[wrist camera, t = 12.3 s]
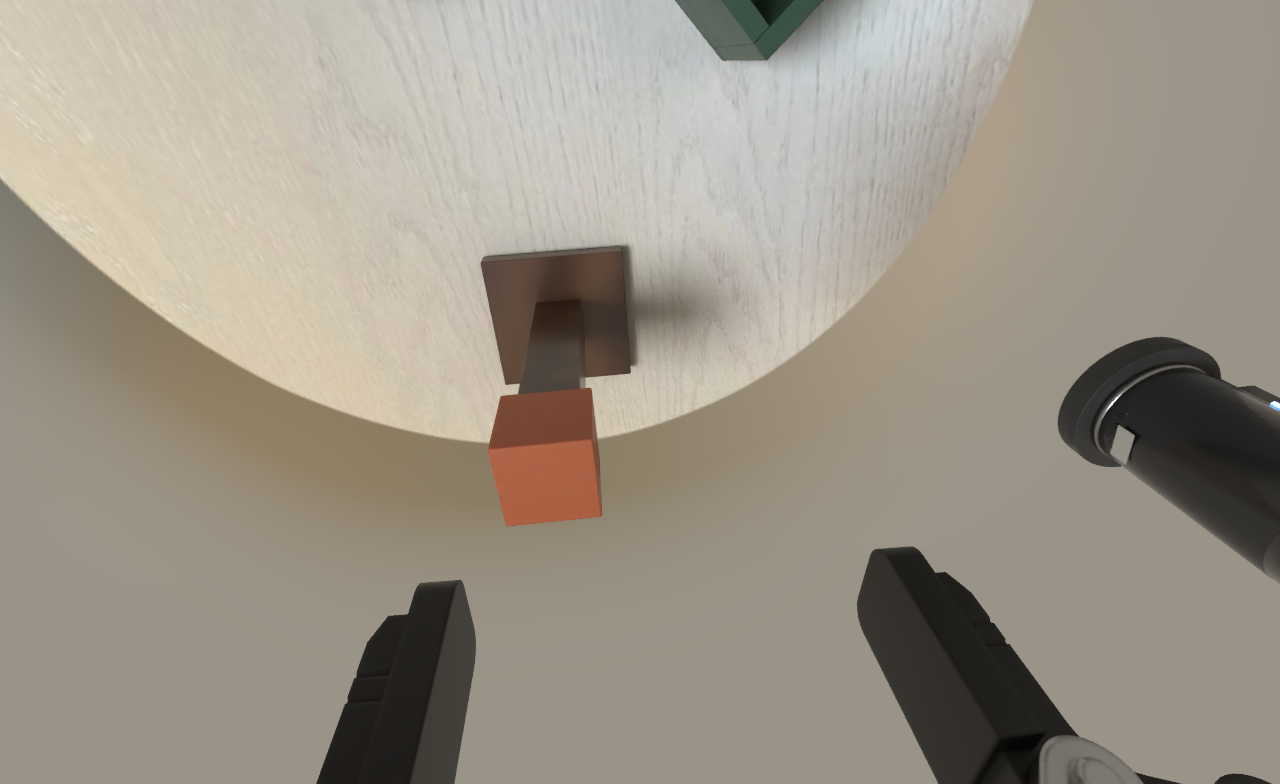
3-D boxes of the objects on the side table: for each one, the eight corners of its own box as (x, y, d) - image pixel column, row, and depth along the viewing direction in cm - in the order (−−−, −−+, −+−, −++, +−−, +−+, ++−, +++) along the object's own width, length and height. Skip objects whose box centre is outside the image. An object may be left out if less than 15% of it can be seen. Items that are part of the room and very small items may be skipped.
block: (591, 386, 26) (593, 439, 22) (599, 458, 28) (602, 517, 24) (500, 395, 26) (486, 449, 22) (515, 467, 28) (505, 527, 24)
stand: (621, 245, 37) (640, 335, 25) (629, 366, 41) (649, 490, 29) (482, 256, 36) (434, 353, 24) (507, 377, 41) (476, 508, 29)
